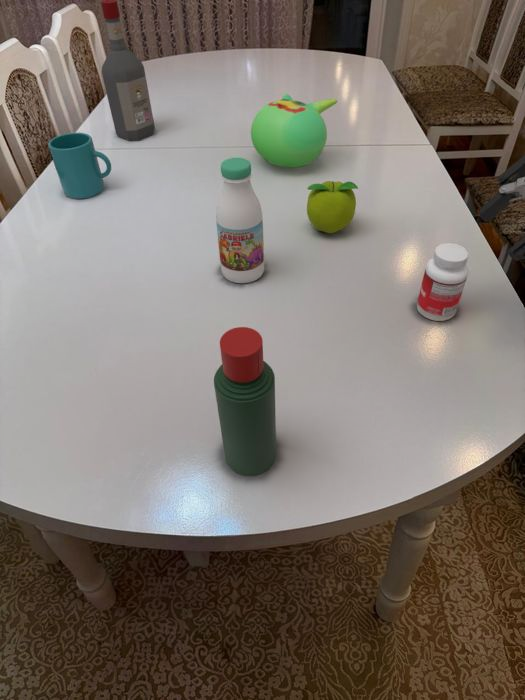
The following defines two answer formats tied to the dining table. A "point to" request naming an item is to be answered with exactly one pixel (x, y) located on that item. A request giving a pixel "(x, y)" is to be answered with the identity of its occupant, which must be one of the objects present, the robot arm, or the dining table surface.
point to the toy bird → (290, 131)
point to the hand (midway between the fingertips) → (496, 236)
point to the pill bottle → (443, 282)
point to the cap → (242, 354)
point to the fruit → (331, 205)
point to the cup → (78, 165)
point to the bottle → (247, 421)
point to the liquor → (125, 82)
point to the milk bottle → (239, 224)
